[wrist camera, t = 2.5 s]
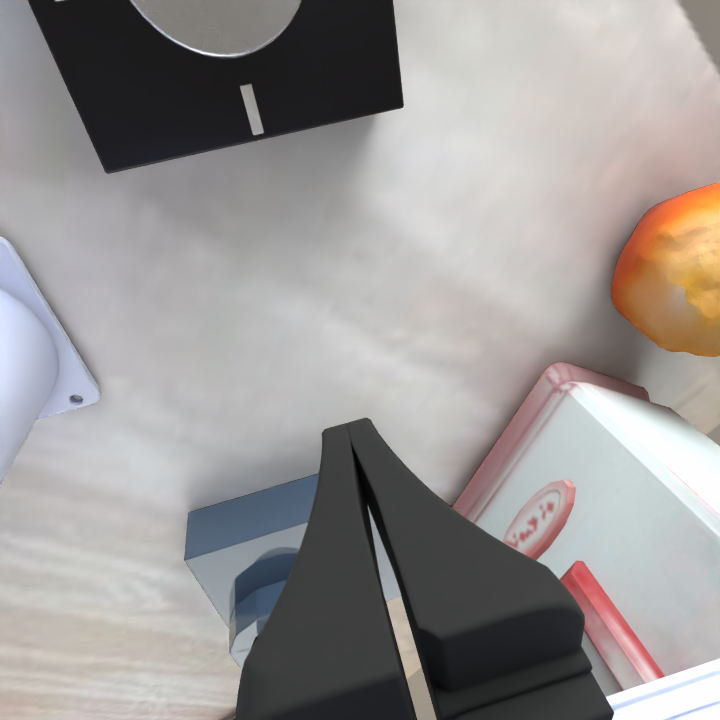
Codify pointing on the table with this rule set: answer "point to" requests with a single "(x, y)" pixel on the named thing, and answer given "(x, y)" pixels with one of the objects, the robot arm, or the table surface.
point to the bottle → (612, 519)
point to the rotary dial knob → (219, 23)
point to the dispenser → (257, 555)
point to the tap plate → (217, 78)
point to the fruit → (674, 274)
